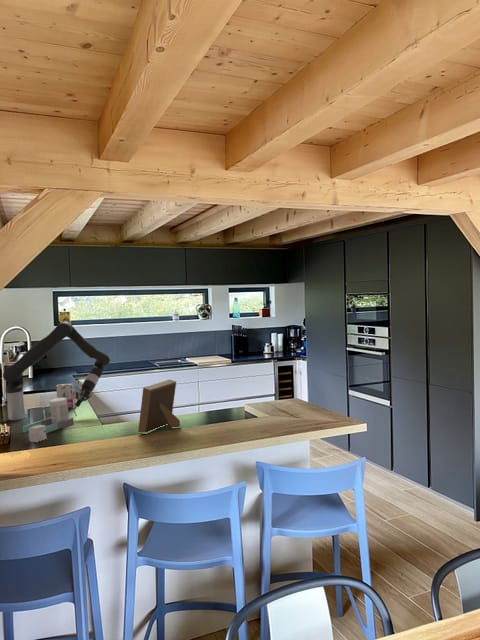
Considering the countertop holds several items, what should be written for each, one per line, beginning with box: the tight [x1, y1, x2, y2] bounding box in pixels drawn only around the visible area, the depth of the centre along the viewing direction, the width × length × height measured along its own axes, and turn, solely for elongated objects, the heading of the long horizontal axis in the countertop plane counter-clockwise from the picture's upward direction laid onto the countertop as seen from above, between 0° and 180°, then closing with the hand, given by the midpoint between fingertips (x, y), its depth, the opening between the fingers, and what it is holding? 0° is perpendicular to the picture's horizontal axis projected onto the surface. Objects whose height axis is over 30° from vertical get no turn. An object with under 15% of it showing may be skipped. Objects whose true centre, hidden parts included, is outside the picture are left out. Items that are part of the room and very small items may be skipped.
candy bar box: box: [55, 383, 77, 410], centre depth 318 cm, size 11×5×16 cm, turn 80°
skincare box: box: [28, 425, 48, 443], centre depth 248 cm, size 6×6×7 cm
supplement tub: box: [49, 397, 70, 424], centre depth 278 cm, size 10×10×15 cm
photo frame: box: [137, 379, 181, 433], centre depth 250 cm, size 15×22×25 cm
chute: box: [22, 417, 75, 434], centre depth 271 cm, size 15×22×4 cm
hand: (76, 406), depth 288 cm, fingers closed
